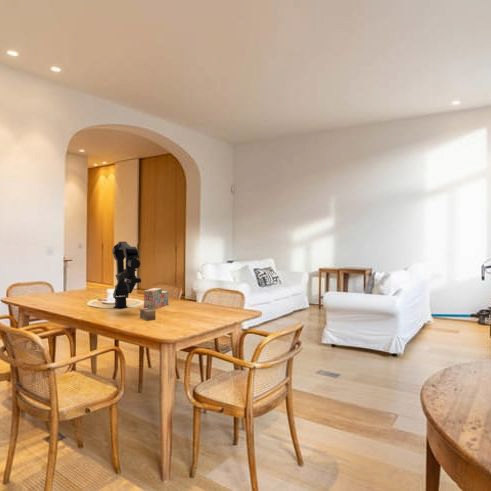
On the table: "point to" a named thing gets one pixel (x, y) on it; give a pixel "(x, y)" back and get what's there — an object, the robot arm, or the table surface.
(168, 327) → the table surface
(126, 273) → the robot arm
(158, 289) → the stack of blocks
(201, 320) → the table surface
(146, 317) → the walnut block
